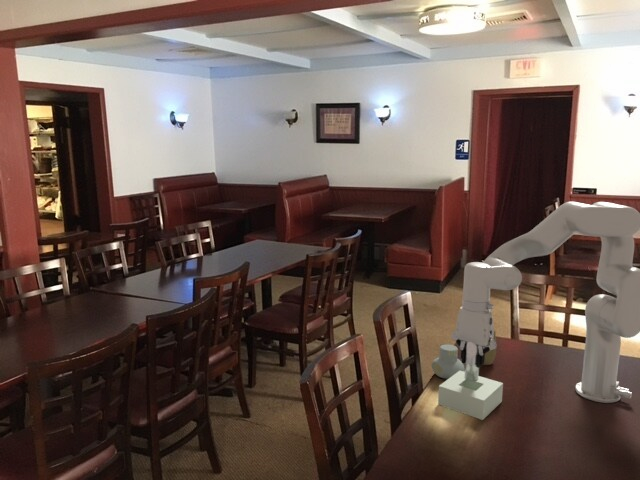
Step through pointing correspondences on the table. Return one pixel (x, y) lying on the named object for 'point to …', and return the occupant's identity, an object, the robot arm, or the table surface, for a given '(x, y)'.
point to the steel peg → (471, 362)
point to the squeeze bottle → (490, 354)
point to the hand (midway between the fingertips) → (472, 363)
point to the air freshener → (447, 362)
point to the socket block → (470, 395)
